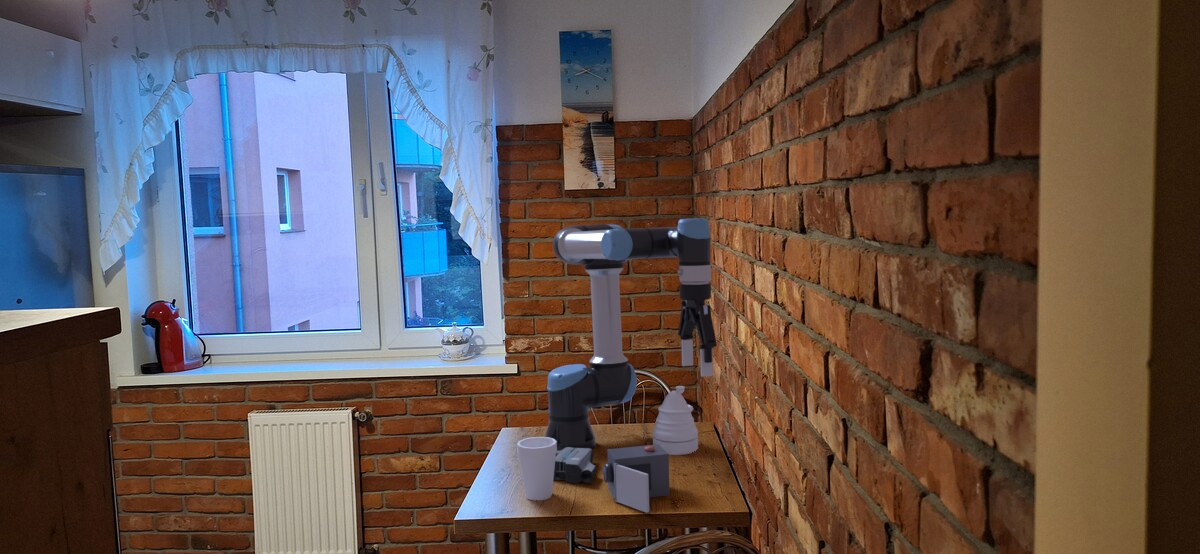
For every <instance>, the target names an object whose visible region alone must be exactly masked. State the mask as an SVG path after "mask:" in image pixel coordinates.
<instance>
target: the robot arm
mask: <svg viewBox="0 0 1200 554" xmlns="http://www.w3.org/2000/svg"><path fill="white" fill-rule="evenodd" d="M710 230H711V229H710V221H709V220H708V219H707V218H703V217H701V218H699V217H698V218H695V217H694V218H680V219H679V220H678V222H677V226H662V227H642V228H640V227H639V228H637V227H636V228H633V227H632V228H623V227H622V226H620V225H618V224H609V223H608V224H607V223H605V224H581V225H579V224H576V225H575V224H574V225H570V226H566V227H563V228H562V229H561V230H559V231H558V232H557V233H556V234H555V235H554V237H553V239H552V240H553V241H552V251H553V253H554V255H555V257H556V258H557V259H558V260H560V261H561V262H562V263H565V264H568V265H578V266H583V265H584V271H585V272H586V273H587V274H588V275H589V276H590V294H591V295H590V297H591V317H592V338H593V339H592V340H593V356H591V358H590V359H589V361H588V362H589V368H588V366H587V365H585V364H583V363H574V364H567V365H562V366H559V367H556V368H554V369H552V370H551V371H550V372H549V374H547V387H546V388H547V399H548V401H547V402H548V403H547V404H548V425H547V427H546V430H545V434H544V437H549V438H553V439H555V440H556V441H557V451H561V450H563V449H564V448H566V447H572V448H590V449H592V450H593V449H594V448H595V447H596V436H595V433H594V430H593V428H592V425H591V422H590V419H589V417H590V416H589V409H591V408H593V409H595V408H598V407H604V406H606V407H607V406H612V405H613V406H618V405H620V404H624V403H627V402H629V401H630V400H632V397H634V395H635V394H636V393H635V392H636V391H637V382H638V381H637V379H638V378H637V374H636V372H635V371H636V369H635V368H634V366H633V365H632V364H630V363H629V359H628V357H626V356H625V355H624V353H623V339H622V338H623V336H622V317H621V316H622V315H621V314H622V313H621V311H622V310H621V292H620V274H621V272H622V271H623V270H624V264H625V263H626V262H628V261H629V260H639V259H641V260H642V259H643V260H644V259H664V258H678V268H679V269H677V271H676V272H677V274H678V275H679V278H678V279H679V280H678V281H679V282H680V284H679V287H678V288H679V299H681V303H680V304H681V311H680V316H679V322H678V323H679V324H678V329H677V330H678V331H677V335H678V336H679V337H680V340H681V342H680V343H681V367H689V366H690V367H691V366H694V344H693V343H694V340H693V339H694V335H693V332H694V329H695V328H696V332H697V334H698V337H699V341H700V345H699V351H700V354H699V356H700V377H701V378H704V377H713V376H714V362H713V361H714V359H713V358H714V357H713V354H714V352H713V350H714V348H715V347H717V346H718V343H717V339H716V334H715V329H714V324H713V320H712V319H713V317H712V312H711V311H712V309H711V308H712V307H711V305H710V304H708V305H707V304H705V301H706V300H710V299H712V285H711V283H709V282H711V281H712V264H711V231H710Z"/></svg>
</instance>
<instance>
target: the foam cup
mask: <svg viewBox="0 0 1200 554" xmlns="http://www.w3.org/2000/svg"><path fill="white" fill-rule="evenodd" d="M556 452H557V441H556V440H555V439H553V438H549V437H545V436H534V437H532V436H531V437H527V438H524V439H523V438H522V439H521V440H518V441H517V443H516V454H517V455H518V461H519V467H520V473H521V477H522V484H523V490H524V495H525V498H526V499H527V500H530V501H536V500H537V501H544V500H547V499H550V498H552V495H553V487H554V469H555V458H556Z"/></svg>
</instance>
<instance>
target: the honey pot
mask: <svg viewBox="0 0 1200 554" xmlns="http://www.w3.org/2000/svg"><path fill="white" fill-rule="evenodd" d="M684 392H685V386H683V385H677V386H675V390H671V391H669V392H668V393H667V394H666V396H665V398H664V400H663V401H662V404H661V405H660V406H658V408H657V410H658V415H657V417H656V418H655V424H654V427H653V430H652V445H657V444H659V445H660V446H661V447H662V448H663V449H664V450H665V451H666V452H667V453H668V454H669V455H671V456H672V455H673V456H679V455H680V456H681V455H688V454H692V452H693V453H695V452H696V450H697V449H698V450H699V437H698V436H699V434H698V433H699V430H698V428H697V427H696V423H695V421H694V420H695V418H694V417H693V416H692V412H693V411H694V407H693V405H690V404H688V403H687V401H686V400H685V397H684V396H683V395H682V394H683V393H684ZM698 450H697V451H698ZM694 451H695V452H694Z"/></svg>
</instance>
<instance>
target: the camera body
mask: <svg viewBox="0 0 1200 554" xmlns="http://www.w3.org/2000/svg"><path fill="white" fill-rule="evenodd" d="M606 451H607V463H604V464H603V466H602V474H603V480H604V482H605V483H606V484H608V491H609V492H610V493H611V495H612V497H613V499H614V500H615V487H614V463H618V465H621V466H625V467H628V468H631V469H634V470H637V471H640V472H643V473H647V474H648V480H649V499H650V498H657V497H658V498H659V497H665V496H666V497H667V496H670V460H669V459H670V458H669V454H668V453H667V452H666V451H665V450H664V449H663V448H662V447H661V446H660V445H659V444H657V445H653V444H647V445H640V446H639V445H638V446H629V447H618V448H616V447H615V448H607V450H606Z"/></svg>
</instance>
